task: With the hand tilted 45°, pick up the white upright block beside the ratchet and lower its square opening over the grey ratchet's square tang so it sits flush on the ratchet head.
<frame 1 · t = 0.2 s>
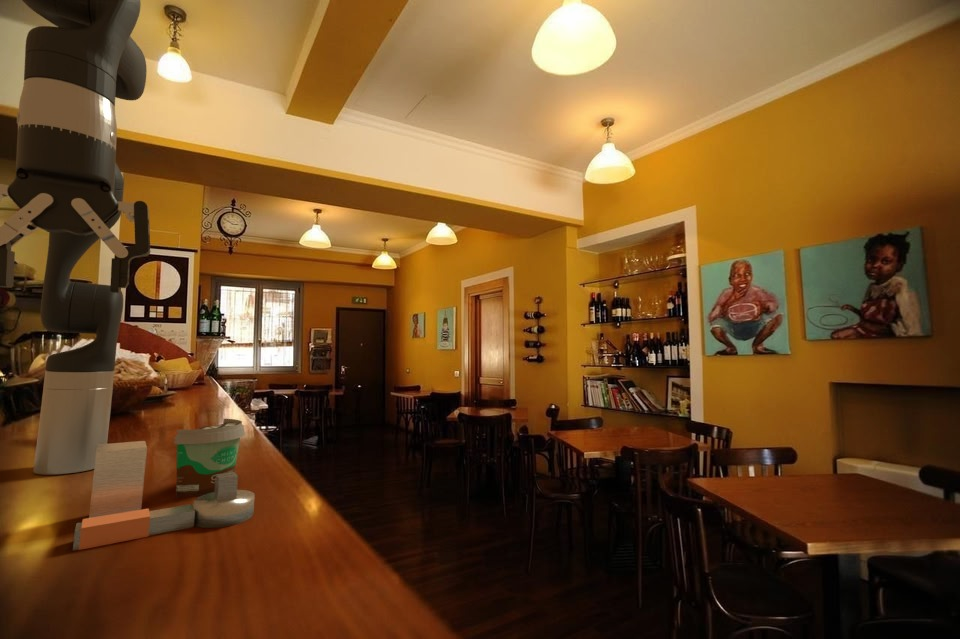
hand: (62, 290, 45), 28 cm above the counter, tool pointing down, fingers open, 8 cm apart
ratchet: (223, 517, 57), on the counter
white upright block: (114, 516, 56), on the counter
food container: (216, 489, 69), on the counter
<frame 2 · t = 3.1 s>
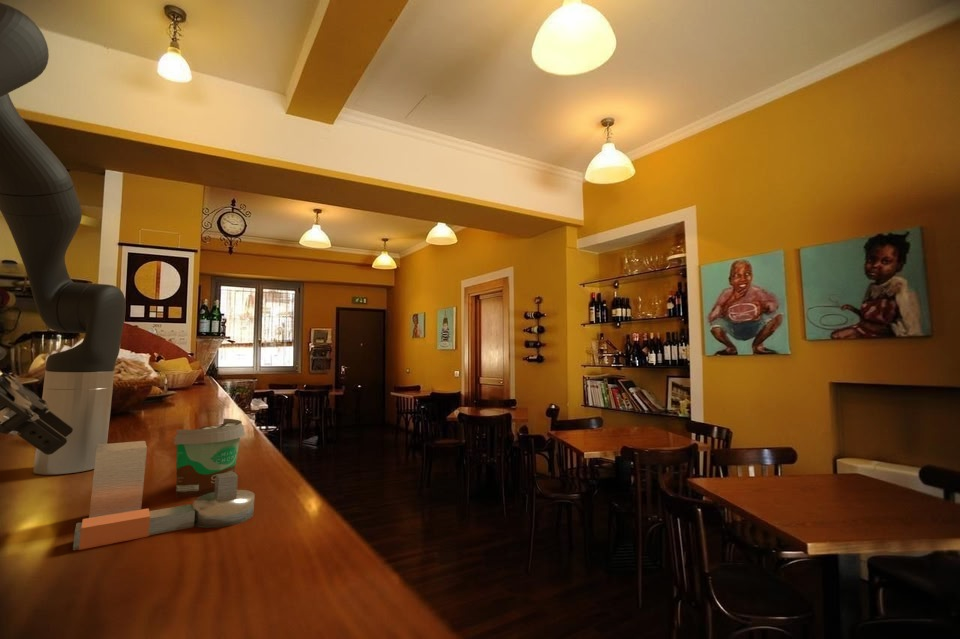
hand: (63, 441, 53), 10 cm above the counter, tool tilted 45°, fingers open, 8 cm apart
nothing on the counter moved.
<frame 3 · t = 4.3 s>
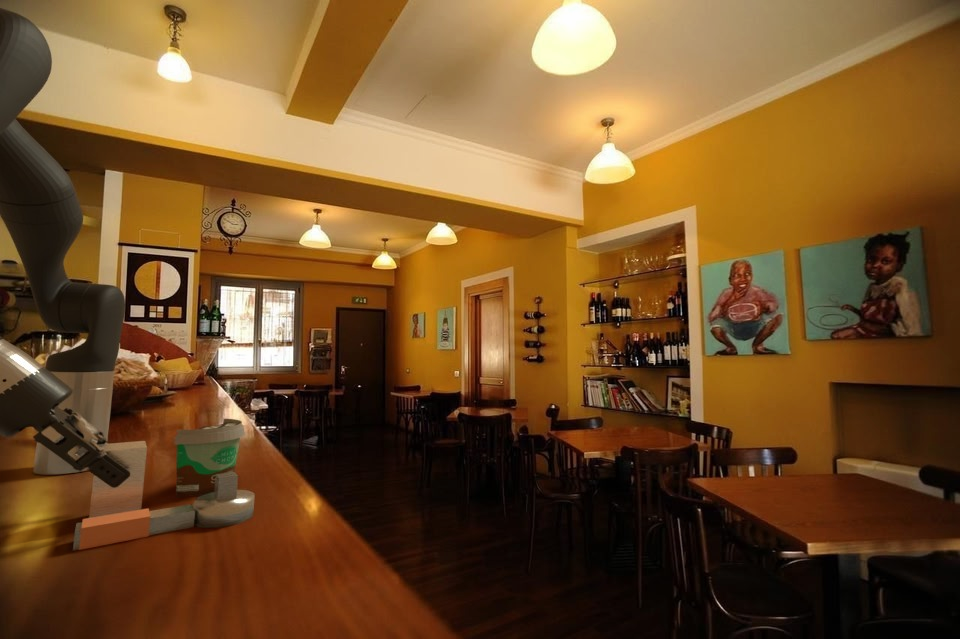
hand: (123, 473, 56), 5 cm above the counter, tool tilted 45°, fingers open, 8 cm apart
nothing on the counter moved.
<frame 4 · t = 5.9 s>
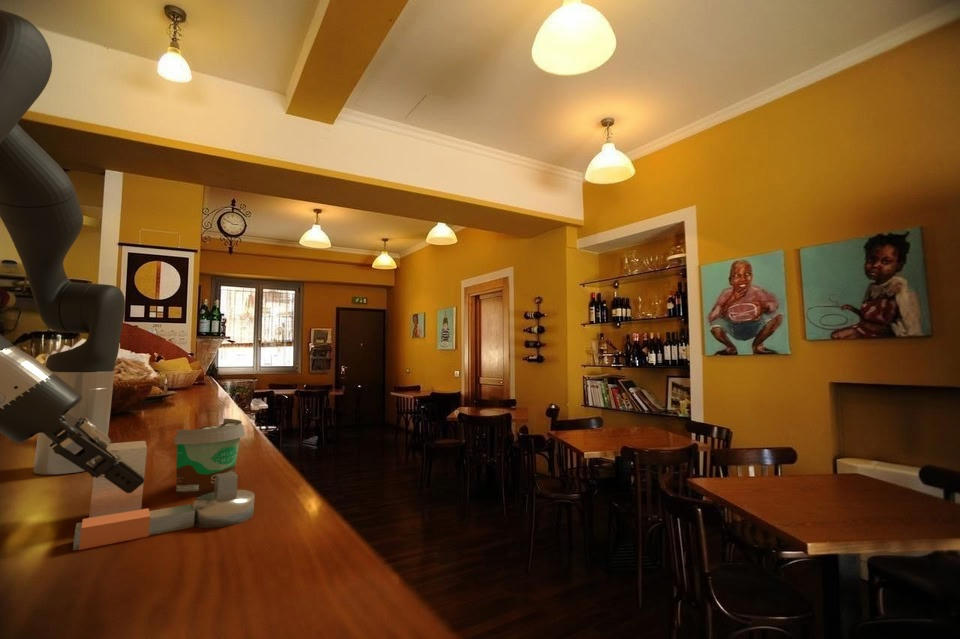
hand: (136, 481, 57), 4 cm above the counter, tool tilted 45°, fingers closed on white upright block, 5 cm apart
white upright block: (114, 516, 56), on the counter, touching gripper
everything else where it was.
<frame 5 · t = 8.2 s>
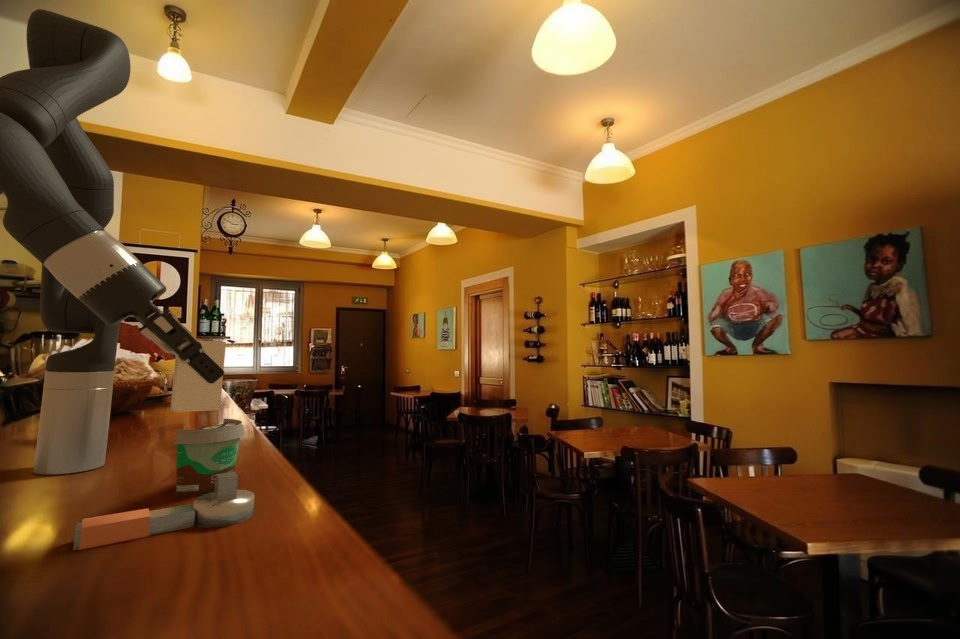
hand: (214, 377, 58), 18 cm above the counter, tool tilted 45°, fingers closed on white upright block, 5 cm apart
white upright block: (195, 408, 57), point 14 cm above the counter, touching gripper
everything else where it was.
when the fingers open (8 cm above the counter, at t = 10.5 s): white upright block stays where it is, resting on ratchet.
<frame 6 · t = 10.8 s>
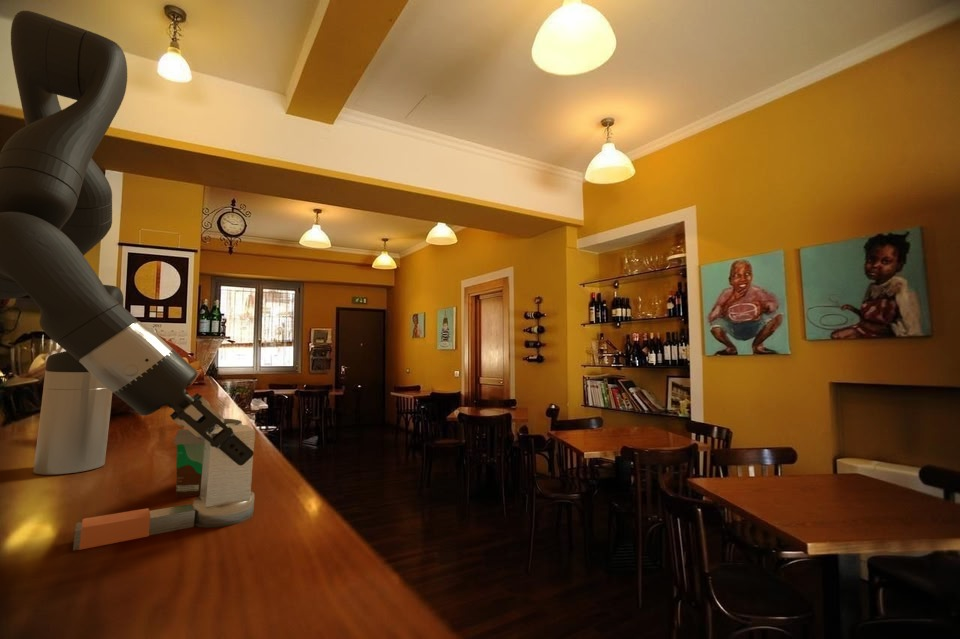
hand: (240, 453, 58), 8 cm above the counter, tool tilted 45°, fingers open, 8 cm apart
ratchet: (223, 517, 57), on the counter, touching white upright block
white upright block: (224, 498, 57), point 2 cm above the counter, touching ratchet
everything else where it was.
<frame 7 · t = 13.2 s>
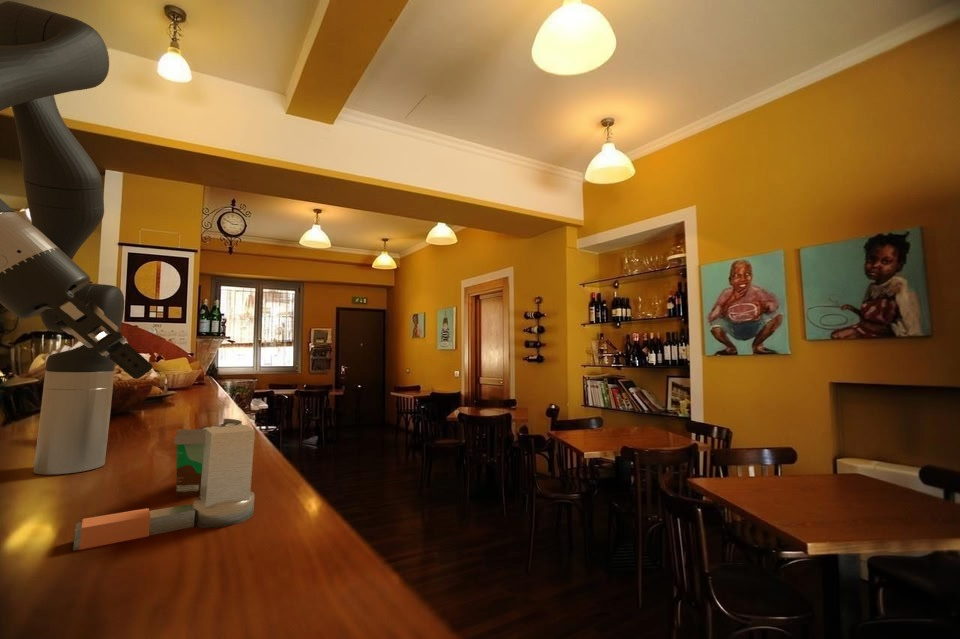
hand: (143, 371, 53), 19 cm above the counter, tool tilted 45°, fingers open, 8 cm apart
nothing on the counter moved.
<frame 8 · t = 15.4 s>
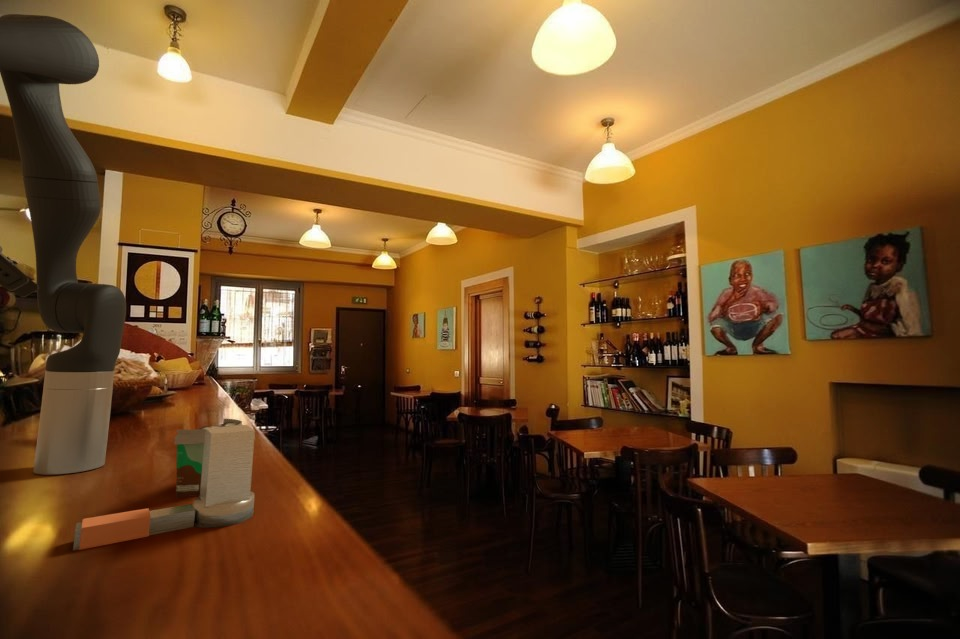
hand: (26, 289, 53), 29 cm above the counter, tool tilted 45°, fingers open, 8 cm apart
nothing on the counter moved.
at the end: white upright block 0.1 cm off-centre on the ratchet, point 2.5 cm above the ratchet's base; white upright block tilted 0°; ratchet moved 0.1 cm from its start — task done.
